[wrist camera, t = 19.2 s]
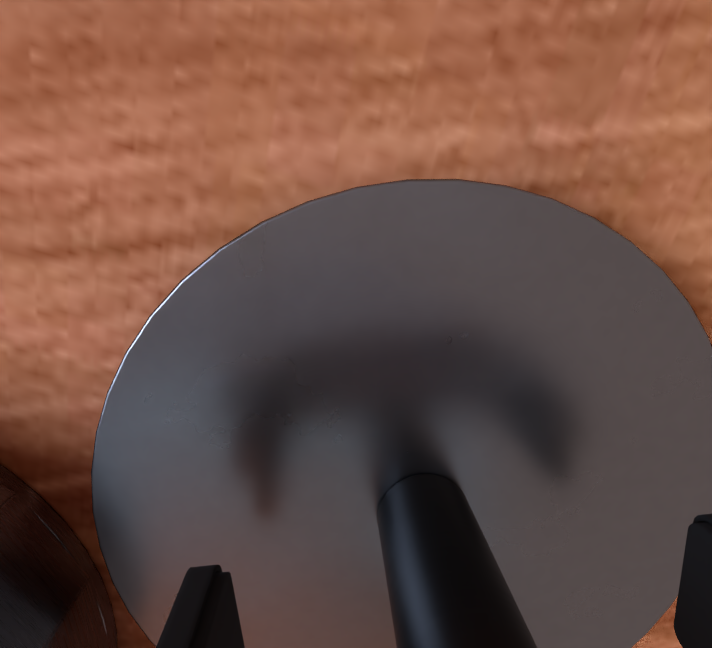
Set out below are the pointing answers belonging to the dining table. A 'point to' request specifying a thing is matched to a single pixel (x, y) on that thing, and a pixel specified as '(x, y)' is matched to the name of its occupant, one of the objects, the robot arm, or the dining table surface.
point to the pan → (47, 578)
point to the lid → (413, 428)
